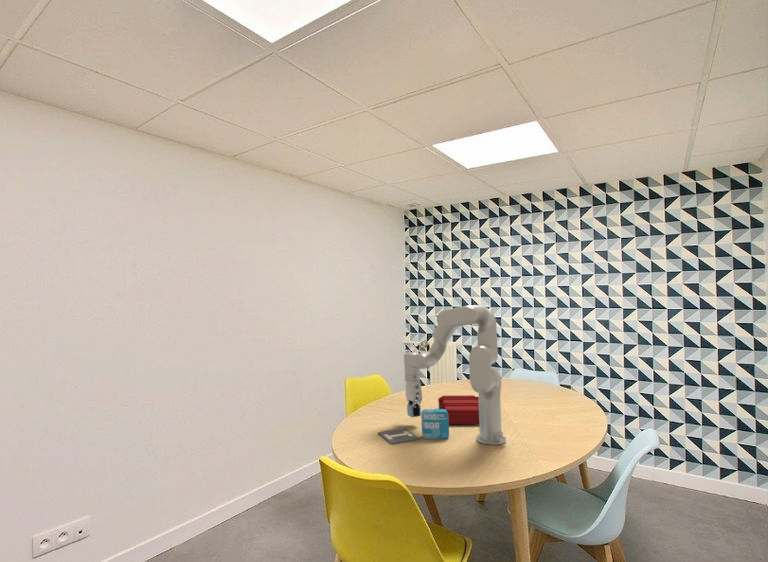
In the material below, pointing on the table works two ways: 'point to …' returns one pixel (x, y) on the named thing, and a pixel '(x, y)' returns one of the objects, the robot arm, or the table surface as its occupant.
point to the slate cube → (411, 410)
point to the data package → (435, 423)
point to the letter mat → (398, 436)
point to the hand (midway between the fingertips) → (414, 413)
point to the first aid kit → (460, 408)
